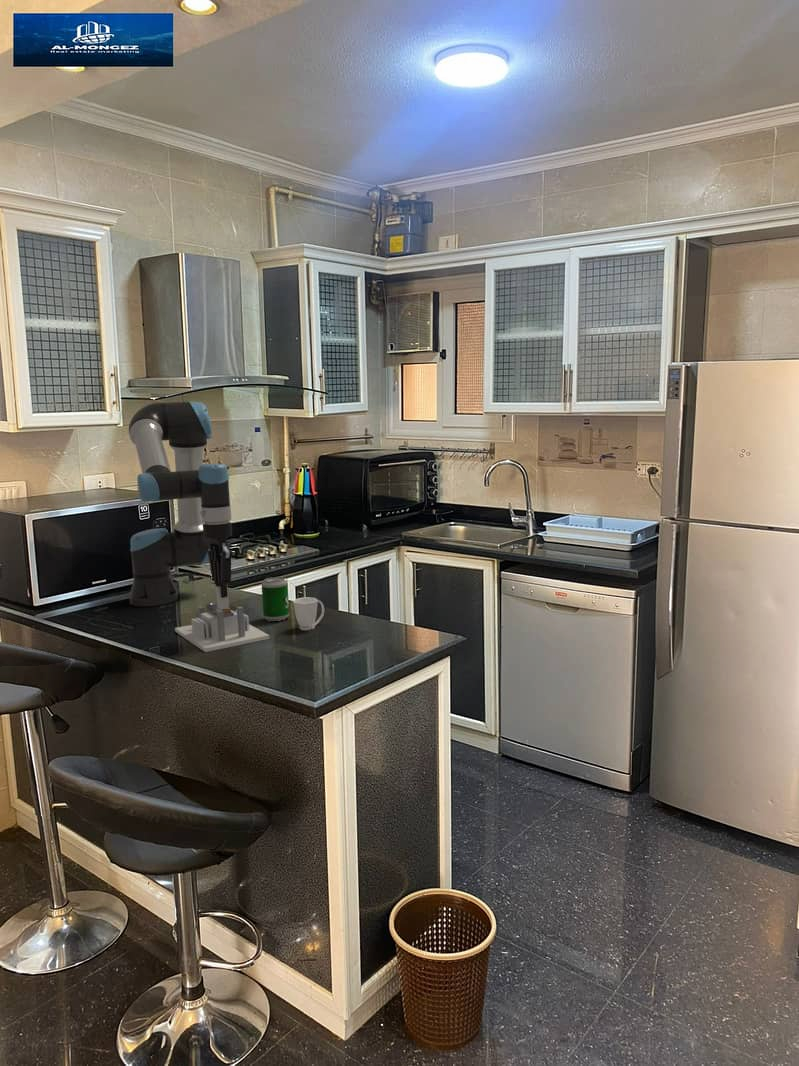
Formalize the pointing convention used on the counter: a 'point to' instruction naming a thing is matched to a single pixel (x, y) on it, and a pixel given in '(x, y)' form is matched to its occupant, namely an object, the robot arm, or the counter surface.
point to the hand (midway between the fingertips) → (223, 608)
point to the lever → (214, 609)
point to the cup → (307, 612)
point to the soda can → (275, 599)
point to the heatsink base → (220, 630)
